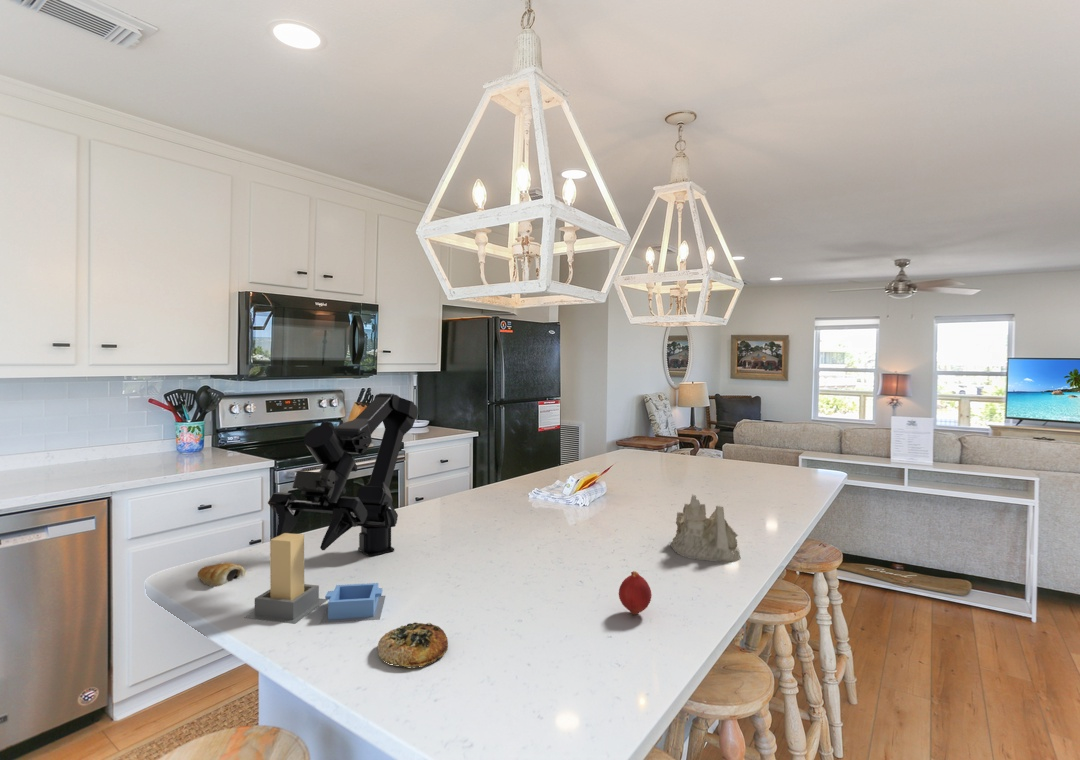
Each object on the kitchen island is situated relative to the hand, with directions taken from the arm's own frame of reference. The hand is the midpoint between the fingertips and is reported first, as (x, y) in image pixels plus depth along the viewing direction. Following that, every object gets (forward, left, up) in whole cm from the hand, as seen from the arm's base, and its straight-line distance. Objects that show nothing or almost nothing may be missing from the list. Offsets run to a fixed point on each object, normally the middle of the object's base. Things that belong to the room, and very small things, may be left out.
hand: (299, 547), depth 105 cm
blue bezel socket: (-6, +10, -10) cm, 16 cm away
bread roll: (-7, +29, -11) cm, 32 cm away
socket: (+3, +2, -10) cm, 11 cm away
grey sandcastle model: (-86, +34, -11) cm, 93 cm away
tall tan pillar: (+3, +2, -10) cm, 11 cm away
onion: (-44, +44, -11) cm, 63 cm away
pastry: (+8, -21, -11) cm, 26 cm away
